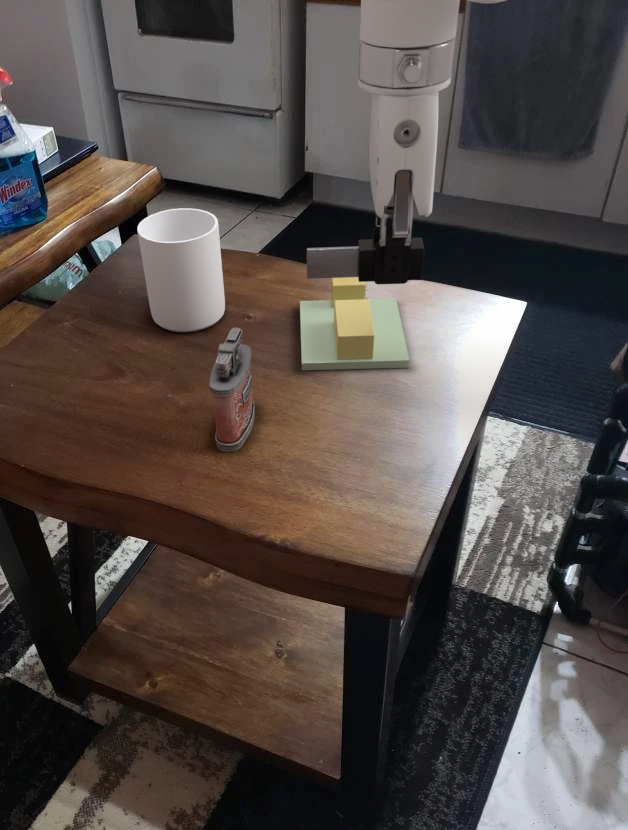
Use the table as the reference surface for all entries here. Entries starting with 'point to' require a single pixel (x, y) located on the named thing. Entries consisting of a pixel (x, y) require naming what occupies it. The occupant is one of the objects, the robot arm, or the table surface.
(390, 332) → the butter plate
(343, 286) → the butter pat
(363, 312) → the butter
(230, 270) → the table surface
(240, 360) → the lighter
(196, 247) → the mug
